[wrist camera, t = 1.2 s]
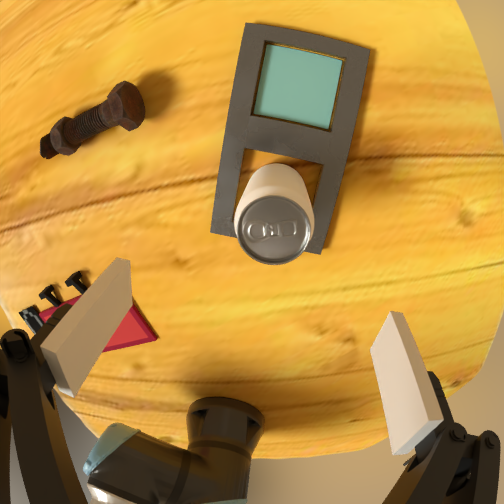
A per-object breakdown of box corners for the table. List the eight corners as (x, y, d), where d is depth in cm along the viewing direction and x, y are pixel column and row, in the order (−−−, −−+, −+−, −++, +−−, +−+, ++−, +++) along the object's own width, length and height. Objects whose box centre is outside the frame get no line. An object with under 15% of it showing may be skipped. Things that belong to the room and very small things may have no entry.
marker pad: (327, 129, 30) (328, 129, 30) (253, 113, 30) (253, 113, 30) (342, 60, 26) (342, 60, 26) (267, 44, 26) (266, 44, 26)
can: (243, 165, 33) (224, 194, 22) (303, 159, 32) (314, 186, 21) (251, 220, 35) (237, 272, 25) (307, 215, 34) (318, 266, 24)
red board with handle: (15, 302, 47) (57, 357, 53) (8, 310, 45) (51, 365, 51) (106, 256, 40) (158, 334, 46) (97, 266, 38) (153, 346, 43)
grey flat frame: (319, 250, 36) (320, 254, 35) (212, 228, 36) (210, 232, 35) (367, 51, 25) (370, 49, 24) (246, 25, 25) (245, 22, 24)
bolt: (60, 139, 34) (147, 96, 31) (58, 171, 34) (147, 131, 30) (32, 125, 29) (120, 72, 25) (27, 160, 28) (117, 110, 25)
